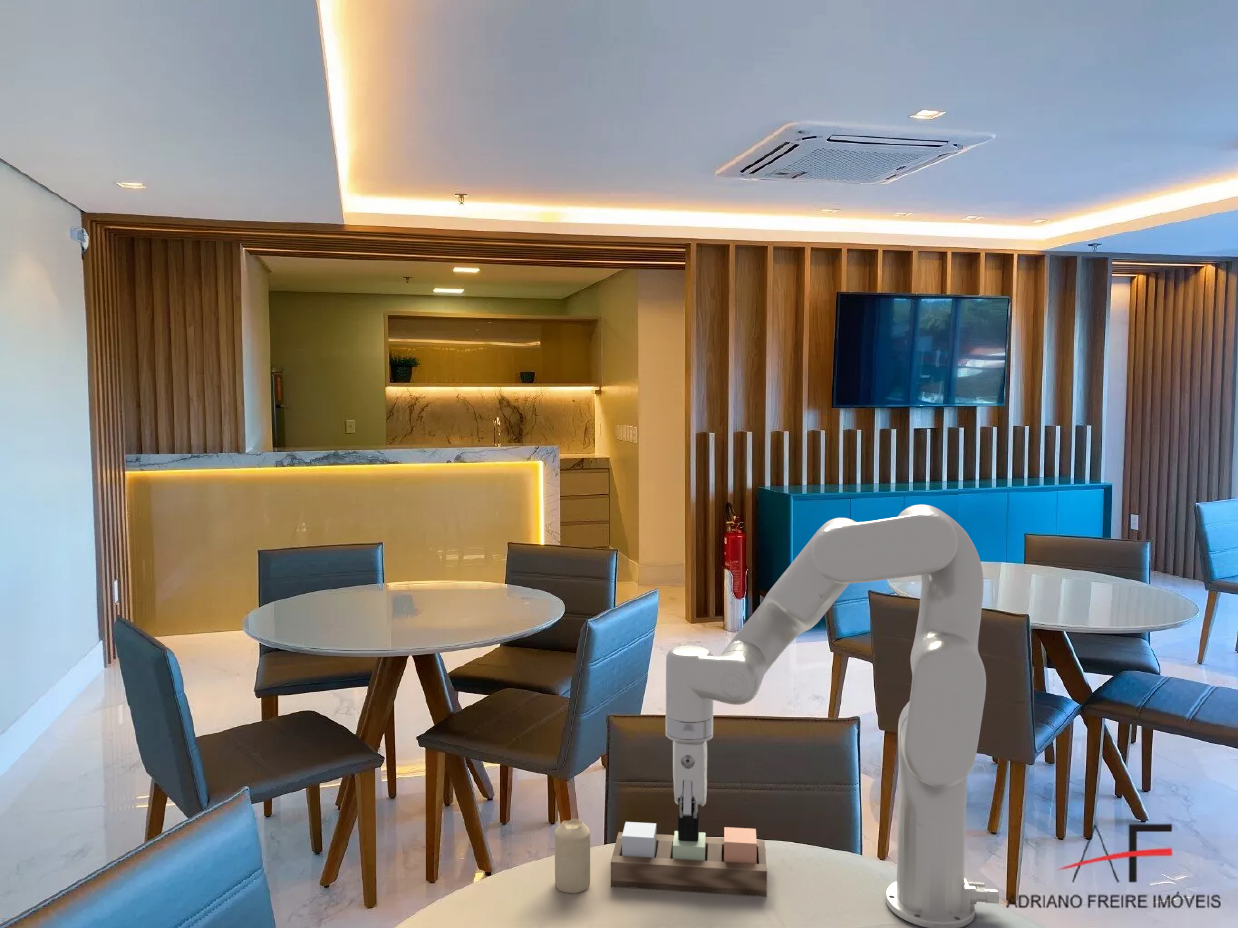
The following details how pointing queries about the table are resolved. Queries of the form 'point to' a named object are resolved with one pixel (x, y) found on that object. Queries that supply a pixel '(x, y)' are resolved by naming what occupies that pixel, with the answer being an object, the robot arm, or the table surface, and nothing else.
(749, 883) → the button panel
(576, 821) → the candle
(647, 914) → the table surface
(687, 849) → the sage button
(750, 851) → the terracotta button
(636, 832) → the greyblue button
